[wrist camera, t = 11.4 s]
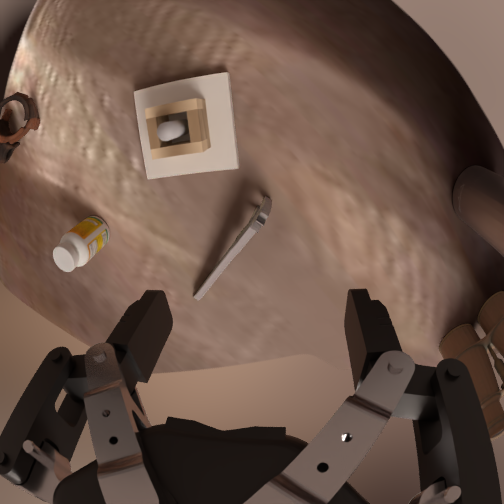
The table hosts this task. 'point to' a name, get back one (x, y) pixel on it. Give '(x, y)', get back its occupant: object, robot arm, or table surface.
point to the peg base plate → (177, 128)
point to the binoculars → (482, 359)
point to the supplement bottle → (81, 243)
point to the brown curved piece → (4, 142)
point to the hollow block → (195, 122)
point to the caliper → (238, 244)
